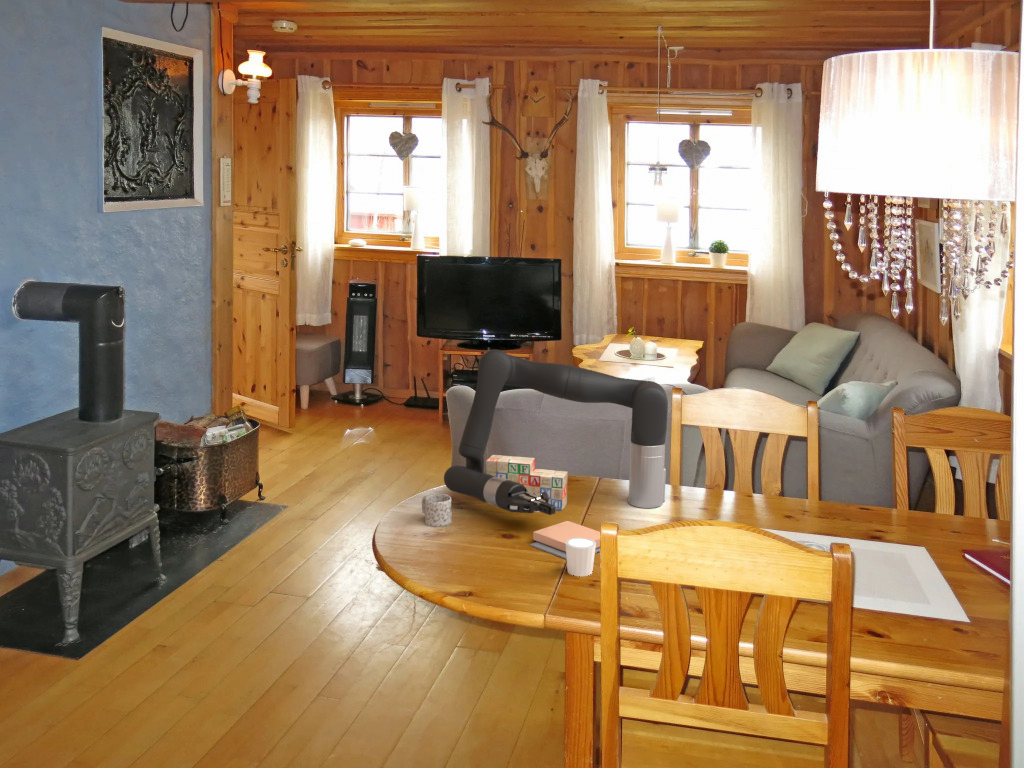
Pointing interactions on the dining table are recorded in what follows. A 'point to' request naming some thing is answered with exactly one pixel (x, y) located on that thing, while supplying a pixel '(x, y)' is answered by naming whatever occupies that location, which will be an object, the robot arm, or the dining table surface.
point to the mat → (553, 549)
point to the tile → (565, 534)
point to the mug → (437, 510)
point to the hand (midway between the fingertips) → (553, 510)
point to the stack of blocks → (531, 477)
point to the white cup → (580, 556)
